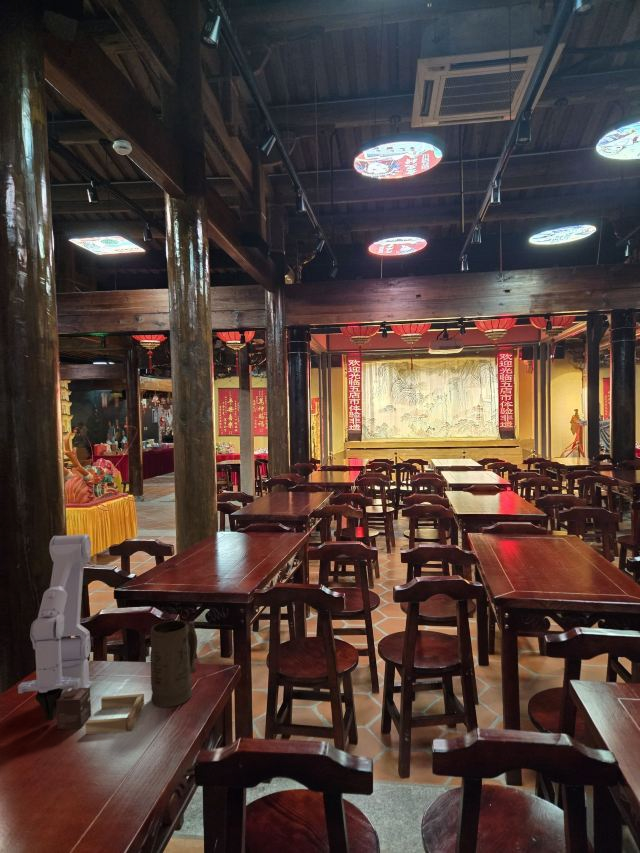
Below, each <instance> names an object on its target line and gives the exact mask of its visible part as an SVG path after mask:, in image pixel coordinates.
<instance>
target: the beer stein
mask: <svg viewBox="0 0 640 853" xmlns="http://www.w3.org/2000/svg"><path fill="white" fill-rule="evenodd" d="M149 633H150V634H149V636H150V684H151V686H150V687H151V692H152V694H151V703H152V704H153V705H154V706H156V707H161V708H171V707H176V706H179V705H183V704H184V703H185V702H187V701H189V700H190V699H191V697H193V696H192V695H193V690H192V686H191V685H192V674H195V673H196V672H197V668H196V666H195V664H194V663H195V658H196V653H197V648H198V637H197V631H196V629H195V621H192V620H191V621H188V622H185V621H183V620H180V619H179V620H176V619H175V620H166V621H162V622H159V623H157V624H154V625H152V627H151V629H150V632H149Z"/></svg>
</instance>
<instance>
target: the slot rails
mask: <svg viewBox="0 0 640 853" xmlns="http://www.w3.org/2000/svg"><path fill="white" fill-rule="evenodd" d="M100 699H101V700H100V704H101V705H100V706H101V710H102V711H103V710H114V709H117V710H118V709H130V710H129V713H128V714H127V716H126V717H115V718H103V719H88V720H87V721H86V722H85V724H84V725H85V735H86V734H89V735H98V734H97V733H102V734H110V733H111V732H113V734H114V732H115V733H126V732H132V731H133V728H134V726H135V725H136V722H137V719H138V718H139V715H140V714H141V712H142V710H143V708H144V705H145V694H144V693H139V694H137V693H136V694H134V693H133V694H123V695H112V696H111V695H110V696H109V695H107V696H101V698H100Z"/></svg>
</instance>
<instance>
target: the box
mask: <svg viewBox="0 0 640 853" xmlns="http://www.w3.org/2000/svg"><path fill="white" fill-rule="evenodd" d="M56 702H57V709H56V720H57V722H56V727H57V729H62V730H63V729H81V728H82V727H83V726H84V725H85V724H84V723H86V722H87V720H89V719H90V717H91V716H92V706H91V702H92V701H91V687H89V688H78V689H74V688H71V689H67V690H66V691H65V692H64V693H62V694H61V696H60V697H59V698H58V699H57V700H56ZM88 718H89V719H88Z"/></svg>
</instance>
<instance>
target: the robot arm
mask: <svg viewBox="0 0 640 853" xmlns="http://www.w3.org/2000/svg"><path fill="white" fill-rule="evenodd" d="M48 548H49V549H48V550H49V555H50V558H51V560H52V562H53V564H52V573H51V578H50V584H49V588H48V589H46V590H45V591H44V593H43V595H42V598H41V599H42V600H41V604H40V607H39V611H38V614H37V618H36V619H35V620H33V622H32V623H31V625H30V626H31V627H30V631H29V632H30V634H29V636H30V640H31V642H32V649H33V650H34V651H35V668H36V669H35V671H36V673H35V674H36V679H33V680H28V681H22V682H21V683H20V684H19V685H18V686H17V689H18V690H17V692H18V694H23V693H24V692H26V693H27V692H37V693H36V695H35V700H36V702H38V705H40V707H41V709H42V711H43V713H44V716H45V720H46V721H54V720H53V719H54V718H55V717H57V702H56V700H57V699H58V698H59V697H60V696H61V694H62V693H64V692H65V691H66V690H67V689H71V688H74V689H78V688H91V686H92V685H93V683H94V682H93V681H94V680H92V681H91V680H90V667H89V665H90V663H89V660H88V658H89V656H90V655H91V654H90V653H91V648H92V647H91V634H90V631H89V630H88V629H87V628H86V627H84V626H83V625H81V613H82V593H83V580H84V579H83V578H84V570H85V565H88V564H89V563H90V561H91V556H92V555H91V554H92V552H91V551H92V541H91V537H90V535H89V534H88V533H84V534H71V535H53V536H52V538H51V539H50V541H49V547H48ZM75 636H76V637H75ZM65 637H67V638H65Z"/></svg>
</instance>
